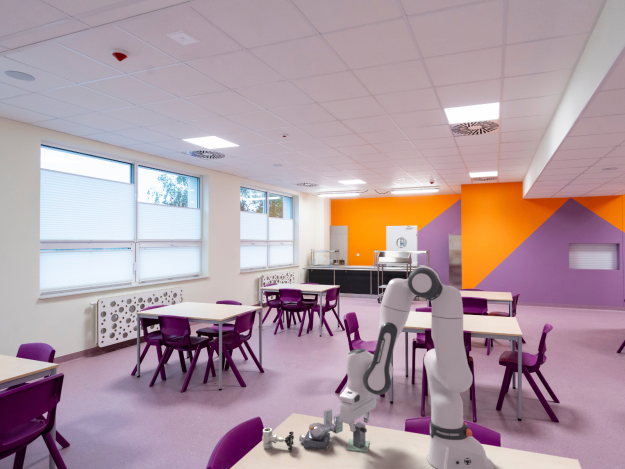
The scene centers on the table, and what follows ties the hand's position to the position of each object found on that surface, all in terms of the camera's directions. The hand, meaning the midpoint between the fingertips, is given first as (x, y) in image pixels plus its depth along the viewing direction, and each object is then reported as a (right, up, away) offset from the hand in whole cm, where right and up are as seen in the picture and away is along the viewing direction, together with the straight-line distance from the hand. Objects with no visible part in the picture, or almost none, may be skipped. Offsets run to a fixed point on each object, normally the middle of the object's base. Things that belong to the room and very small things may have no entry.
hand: (360, 426), depth 154 cm
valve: (-33, -8, -1) cm, 34 cm away
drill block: (-18, -8, +1) cm, 20 cm away
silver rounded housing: (-14, -4, +3) cm, 15 cm away
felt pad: (-1, -8, 0) cm, 8 cm away
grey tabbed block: (0, -7, -1) cm, 7 cm away
